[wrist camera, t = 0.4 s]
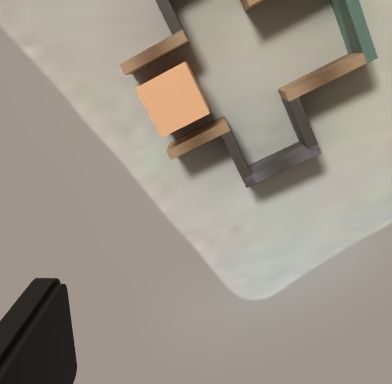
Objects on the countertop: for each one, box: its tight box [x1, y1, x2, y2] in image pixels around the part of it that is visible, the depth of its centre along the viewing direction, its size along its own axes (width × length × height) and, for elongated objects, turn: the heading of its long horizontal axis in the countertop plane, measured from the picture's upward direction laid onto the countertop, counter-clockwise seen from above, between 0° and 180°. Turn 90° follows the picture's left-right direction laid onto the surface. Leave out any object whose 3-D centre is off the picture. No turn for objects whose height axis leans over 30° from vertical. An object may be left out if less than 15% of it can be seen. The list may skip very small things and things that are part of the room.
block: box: [135, 62, 210, 137], centre depth 35 cm, size 5×5×5 cm
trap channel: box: [120, 0, 378, 187], centre depth 35 cm, size 21×22×4 cm
